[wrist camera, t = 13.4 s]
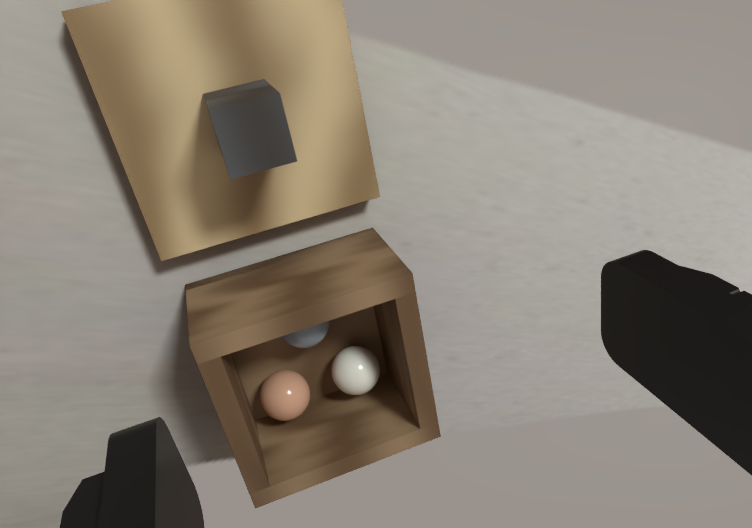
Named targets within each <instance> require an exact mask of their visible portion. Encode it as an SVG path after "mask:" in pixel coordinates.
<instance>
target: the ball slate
mask: <svg viewBox="0 0 752 528" xmlns="http://www.w3.org/2000/svg"><path fill="white" fill-rule="evenodd" d="M329 325H330V321H327V322H324V323H321V324H318V325H315V326H312V327H309V328H306V329H303V330H300V331H297V332H294V333H291V334H288V335H284V336H281V337H282V338H283V339H284V340H285V341H286V342H287V343H288V344H290V345H291V346H294V347H297V348H309V347H312V346H315V345H317V344H318V343H320V342H321V341H322V340H323V339H324V337H325V336H326V334H327V332H328V330H329Z"/></svg>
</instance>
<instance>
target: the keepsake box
mask: <svg viewBox="0 0 752 528" xmlns="http://www.w3.org/2000/svg"><path fill="white" fill-rule="evenodd" d="M185 287H186V302H187V316H188V331H189V346H190V348H191V351H192V353H193V355H194V358H195V360H196V363H197V365H198V368H199V370H200V373H201V375H202V378H203V380H204V383H205V385H206V388H207V390H208V393H209V395H210V397H211V400H212V402H213V405H214V407H215V410H216V412H217V415H218V417H219V420H220V422H221V425H222V427H223V430H224V432H225V434H226V437H227V439H228V442H229V444H230V447H231V449H232V452H233V454H234V457H235V459H236V462H237V464H238V467H239V469H240V471H241V474H242V476H243V479H244V481H245V484H246V486H247V489H248V491H249V494H250V496H251V499H252V501H253V503H254V506H255V508H257V507H260V506H263V505H265V504H268V503H270V502H273V501H275V500H278V499H281V498H283V497H286V496H288V495H291V494H294V493H296V492H299V491H301V490H304V489H306V488H309V487H312V486H314V485H316V484H319V483H322V482H324V481H327V480H330V479H332V478H335V477H337V476H340V475H342V474H345V473H348V472H350V471H353V470H355V469H358V468H361V467H363V466H365V465H368V464H371V463H373V462H376V461H379V460H381V459H384V458H386V457H389V456H392V455H394V454H397V453H399V452H402V451H404V450H407V449H410V448H412V447H415V446H417V445H420V444H422V443H425V442H428V441H430V440H433V439H435V438H438V437H440V430H439V424H438V418H437V413H436V407H435V401H434V395H433V390H432V384H431V378H430V372H429V367H428V361H427V355H426V349H425V343H424V338H423V332H422V326H421V320H420V315H419V309H418V303H417V297H416V292H415V286H414V280H413V274H412V272H411V271H410V270H409V269H408V268H407V266H406V265H405V264H404V263H403V262H402V261H401V260H400V258H399V257H398V256H397V255H396V254H395V253H394V252H393V250H392V249H391V248H390V247H389V246H388V245H387V244H386V242H385V241H384V240H383V239H382V238H381V237H380V236H379V234H378V233H377V232H376V231H375V230H374V229H373V228H370V229H367V230H364V231H361V232H357V233H354V234H351V235H347V236H344V237H341V238H338V239H334V240H331V241H328V242H324V243H321V244H318V245H315V246H311V247H308V248H305V249H301V250H298V251H295V252H292V253H288V254H285V255H282V256H278V257H275V258H272V259H269V260H265V261H262V262H259V263H255V264H252V265H249V266H246V267H242V268H239V269H236V270H232V271H229V272H226V273H223V274H219V275H216V276H213V277H209V278H206V279H203V280H200V281H196V282H193V283H190V284H186V285H185ZM327 321H330V325H329V330H328V332H327V334H326V336H325V337H324V339H323V340H322V341H321V342H320V343H318V344H317V345H315V346H312V347H309V348H297V347H294V346H291V345H290V344H288V343H287V342H286V341H285V340H284V339H283V338H282V337H281V336H284V335H288V334H291V333H294V332H297V331H300V330H303V329H306V328H309V327H312V326H315V325H318V324H321V323H324V322H327ZM350 346H361V347H365V348H367V349H369V350H370V351H371V352H372V353H373V354H374V355H375V356H376V358H377V360H378V362H379V366H380V375H379V378H378V381H377V383H376V384H375V386H374V387H373V388H372V389H371V390H370V391H368V392H366V393H364V394H361V395H350V394H347V393H345V392H343V391H341V390H340V389H339V388H338V387H337V386H336V384H335V383H334V381H333V378H332V374H331V368H332V363H333V360H334V358H335V357H336V355H337V354H338V353H339V352H340V351H341V350H343V349H345V348H347V347H350ZM280 370H292V371H295V372H297V373H299V374H300V375H302V376H303V377H304V378H305V380H306V381H307V383H308V385H309V388H310V401H309V404H308V406H307V408H306V410H305V411H304V412H303V413H302V414H301V415H300V416H298V417H297V418H295V419H292V420H288V421H280V420H276V419H274V418H272V417H270V416H269V415H268V414H267V413H266V412H265V411H264V409H263V407H262V405H261V401H260V391H261V387H262V385H263V383H264V381H265V380H266V379H267V378H268V377H269V376H270V375H271V374H273V373H275V372H277V371H280Z"/></svg>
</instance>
